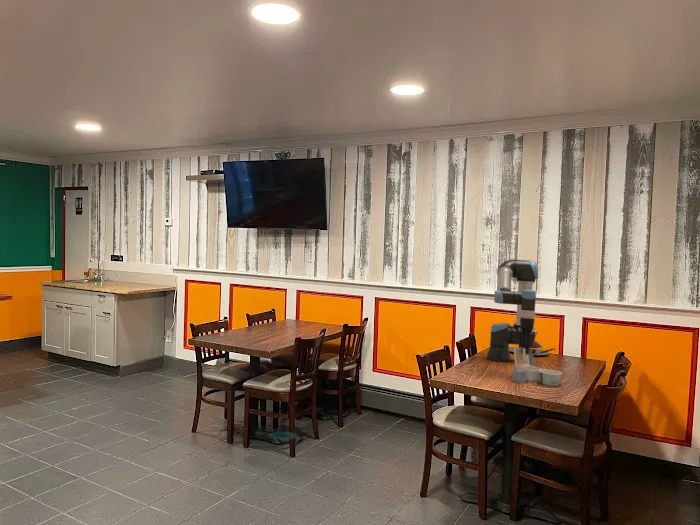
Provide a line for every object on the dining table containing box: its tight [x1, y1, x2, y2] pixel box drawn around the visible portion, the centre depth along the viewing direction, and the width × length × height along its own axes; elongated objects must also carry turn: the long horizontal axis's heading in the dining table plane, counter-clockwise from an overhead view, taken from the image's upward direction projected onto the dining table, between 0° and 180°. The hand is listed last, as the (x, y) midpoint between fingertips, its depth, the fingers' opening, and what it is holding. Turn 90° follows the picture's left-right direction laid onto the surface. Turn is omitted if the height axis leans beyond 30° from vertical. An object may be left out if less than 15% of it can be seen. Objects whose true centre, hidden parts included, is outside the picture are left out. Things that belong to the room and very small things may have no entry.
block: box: [511, 368, 527, 384], centre depth 294 cm, size 5×5×6 cm
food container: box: [539, 368, 563, 387], centre depth 293 cm, size 12×12×6 cm
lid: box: [513, 346, 529, 368], centre depth 307 cm, size 11×11×1 cm
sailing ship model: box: [509, 339, 549, 356], centre depth 381 cm, size 28×28×11 cm
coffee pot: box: [520, 347, 557, 367], centre depth 321 cm, size 21×12×15 cm, turn 72°
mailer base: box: [515, 365, 543, 383], centre depth 302 cm, size 10×11×6 cm
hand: (524, 359), depth 305 cm, fingers closed
